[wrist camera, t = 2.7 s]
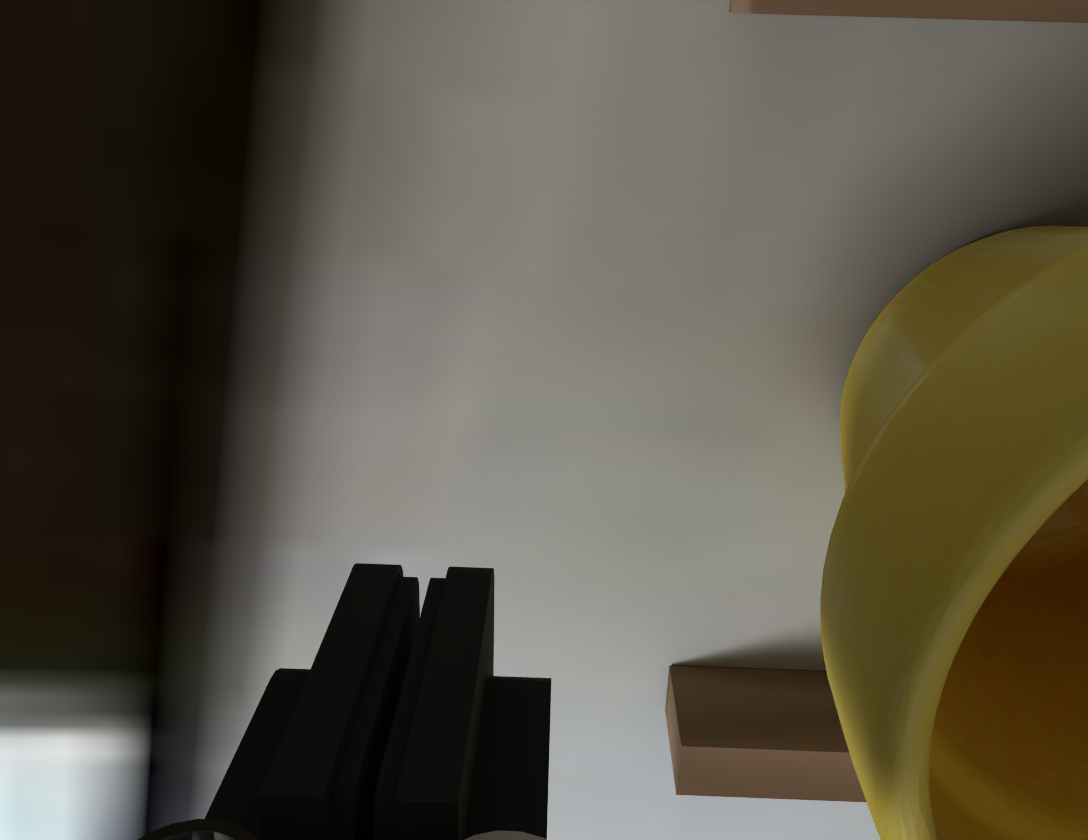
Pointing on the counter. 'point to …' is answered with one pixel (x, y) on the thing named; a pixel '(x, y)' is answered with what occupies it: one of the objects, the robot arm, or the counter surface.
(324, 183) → the counter surface
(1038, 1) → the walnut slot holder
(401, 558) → the counter surface
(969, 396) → the plant pot
